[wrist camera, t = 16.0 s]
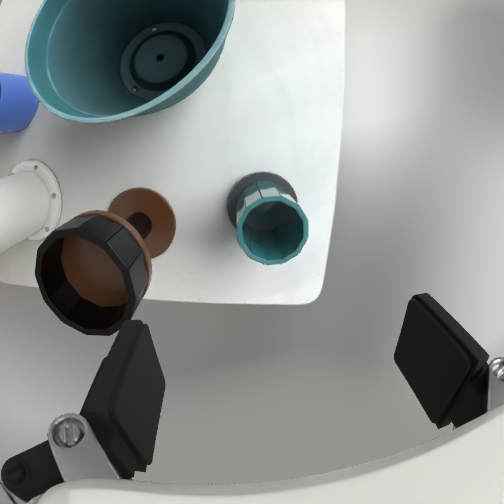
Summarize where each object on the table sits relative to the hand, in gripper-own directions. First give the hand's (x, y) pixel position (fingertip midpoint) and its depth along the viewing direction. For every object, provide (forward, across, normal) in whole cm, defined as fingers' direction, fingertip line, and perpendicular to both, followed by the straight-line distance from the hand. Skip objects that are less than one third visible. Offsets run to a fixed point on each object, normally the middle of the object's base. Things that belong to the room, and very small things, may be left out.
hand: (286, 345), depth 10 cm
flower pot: (+30, +9, -18) cm, 36 cm away
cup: (+29, -2, +2) cm, 29 cm away
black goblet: (+30, +14, +3) cm, 33 cm away
